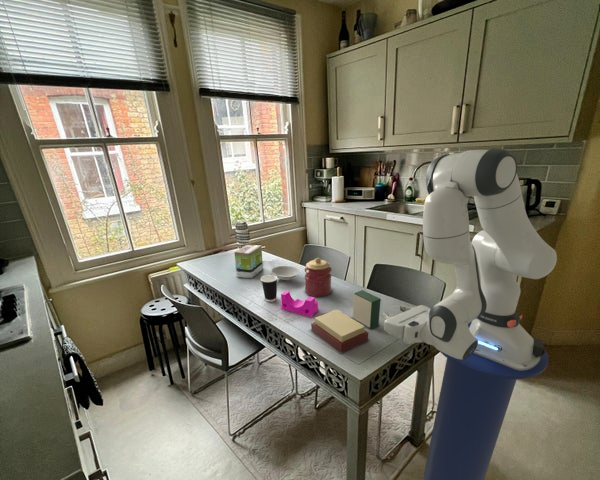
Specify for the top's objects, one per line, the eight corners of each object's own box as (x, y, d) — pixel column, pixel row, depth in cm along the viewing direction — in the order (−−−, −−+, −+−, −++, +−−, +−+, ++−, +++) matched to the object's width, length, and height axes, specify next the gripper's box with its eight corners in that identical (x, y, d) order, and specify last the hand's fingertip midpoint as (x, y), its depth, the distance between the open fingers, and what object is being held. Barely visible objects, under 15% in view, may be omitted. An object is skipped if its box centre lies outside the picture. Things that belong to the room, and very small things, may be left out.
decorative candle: (252, 262, 198) (247, 222, 188) (237, 263, 198) (232, 223, 188) (253, 257, 207) (249, 219, 196) (239, 258, 206) (234, 220, 196)
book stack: (368, 340, 117) (369, 326, 114) (341, 353, 111) (341, 338, 108) (336, 320, 131) (336, 307, 128) (311, 330, 124) (310, 317, 122)
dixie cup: (282, 299, 150) (280, 278, 145) (267, 304, 146) (265, 283, 141) (273, 294, 156) (272, 273, 151) (259, 298, 151) (257, 277, 147)
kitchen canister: (335, 294, 152) (335, 260, 145) (309, 299, 149) (308, 264, 142) (325, 284, 164) (325, 252, 156) (302, 288, 161) (300, 255, 153)
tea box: (252, 278, 174) (250, 253, 168) (236, 277, 177) (233, 252, 171) (263, 268, 187) (261, 244, 181) (248, 267, 190) (245, 243, 184)
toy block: (318, 310, 139) (317, 295, 136) (311, 316, 134) (310, 301, 131) (289, 303, 146) (288, 288, 143) (281, 309, 141) (280, 294, 138)
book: (378, 325, 126) (380, 298, 121) (370, 329, 124) (372, 302, 119) (360, 315, 134) (362, 289, 129) (352, 318, 132) (353, 292, 127)
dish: (265, 278, 174) (264, 270, 171) (285, 271, 182) (285, 263, 180) (285, 288, 161) (284, 279, 159) (306, 280, 170) (306, 271, 167)
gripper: (445, 310, 107) (412, 295, 118) (405, 328, 97) (373, 311, 108) (442, 325, 110) (410, 310, 121) (403, 345, 100) (371, 327, 111)
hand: (392, 311), depth 114 cm, fingers open, 8 cm apart
